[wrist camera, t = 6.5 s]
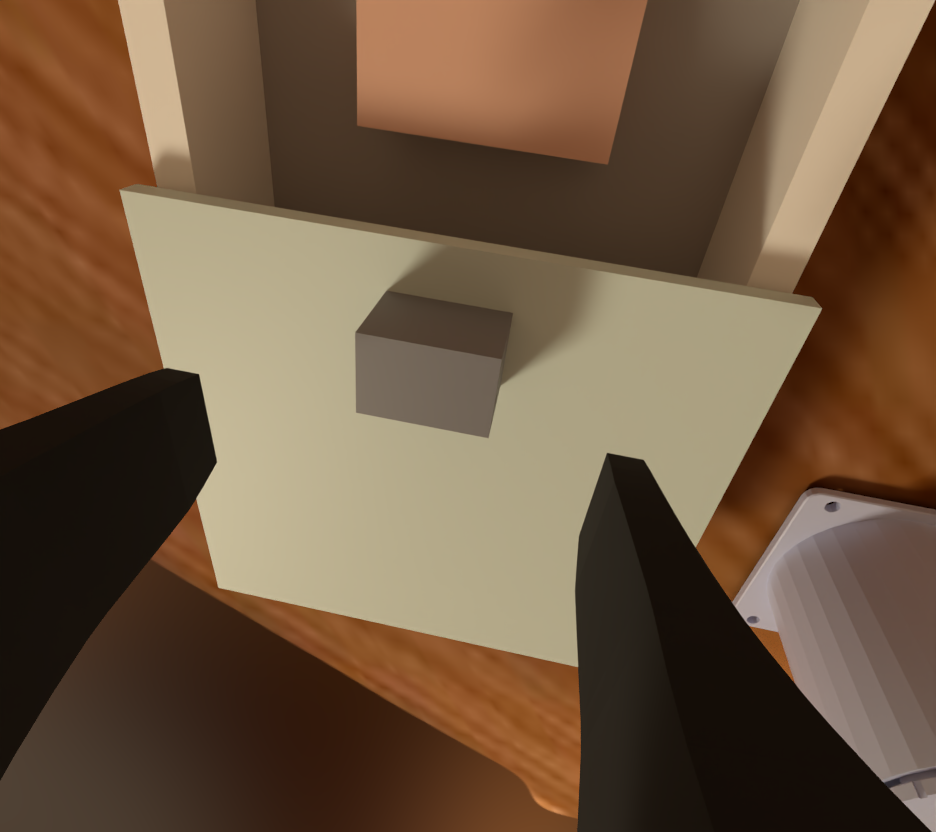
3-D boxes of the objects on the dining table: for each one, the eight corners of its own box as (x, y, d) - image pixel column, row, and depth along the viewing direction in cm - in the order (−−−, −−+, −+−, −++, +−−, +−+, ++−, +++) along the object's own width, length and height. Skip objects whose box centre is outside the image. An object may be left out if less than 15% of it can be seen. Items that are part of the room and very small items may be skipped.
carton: (896, -143, 11) (1044, -225, 8) (673, 408, 20) (693, 495, 16) (206, -220, 12) (50, -322, 9) (269, 334, 21) (201, 399, 17)
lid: (812, 297, 12) (866, 359, 10) (625, 662, 21) (630, 740, 18) (136, 183, 13) (43, 216, 11) (226, 574, 22) (185, 638, 19)
